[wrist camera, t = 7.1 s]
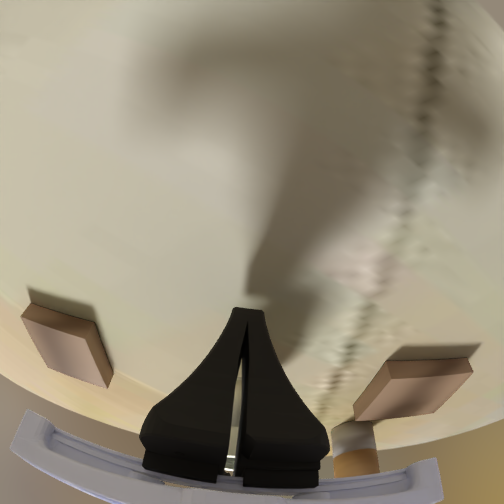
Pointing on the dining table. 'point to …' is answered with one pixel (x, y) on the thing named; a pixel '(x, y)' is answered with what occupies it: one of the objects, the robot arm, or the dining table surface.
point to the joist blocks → (365, 408)
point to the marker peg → (354, 449)
